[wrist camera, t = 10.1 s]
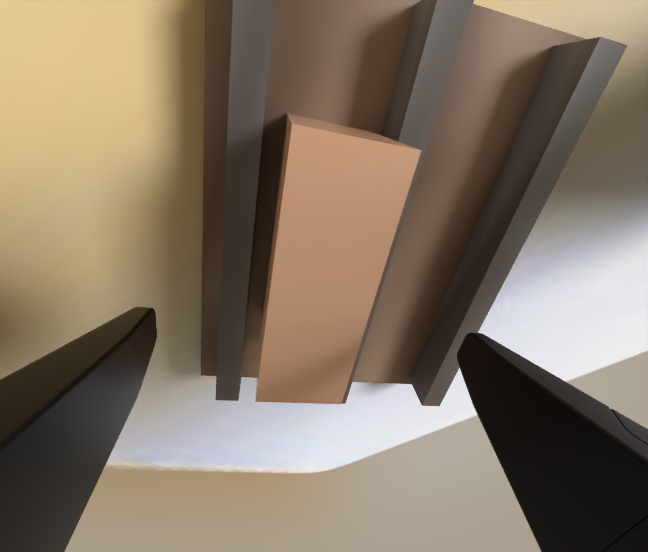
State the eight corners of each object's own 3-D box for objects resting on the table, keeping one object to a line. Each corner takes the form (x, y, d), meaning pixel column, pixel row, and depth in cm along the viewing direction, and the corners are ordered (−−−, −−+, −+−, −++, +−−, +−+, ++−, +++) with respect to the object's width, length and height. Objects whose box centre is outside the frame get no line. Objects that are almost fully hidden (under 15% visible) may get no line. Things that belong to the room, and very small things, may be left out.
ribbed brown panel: (590, 48, 14) (662, 37, 11) (433, 376, 23) (453, 411, 21) (211, -68, 11) (189, -120, 8) (203, 365, 20) (192, 405, 17)
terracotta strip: (367, 130, 14) (421, 150, 9) (323, 317, 18) (341, 404, 13) (286, 113, 13) (292, 123, 8) (262, 312, 18) (255, 401, 12)
